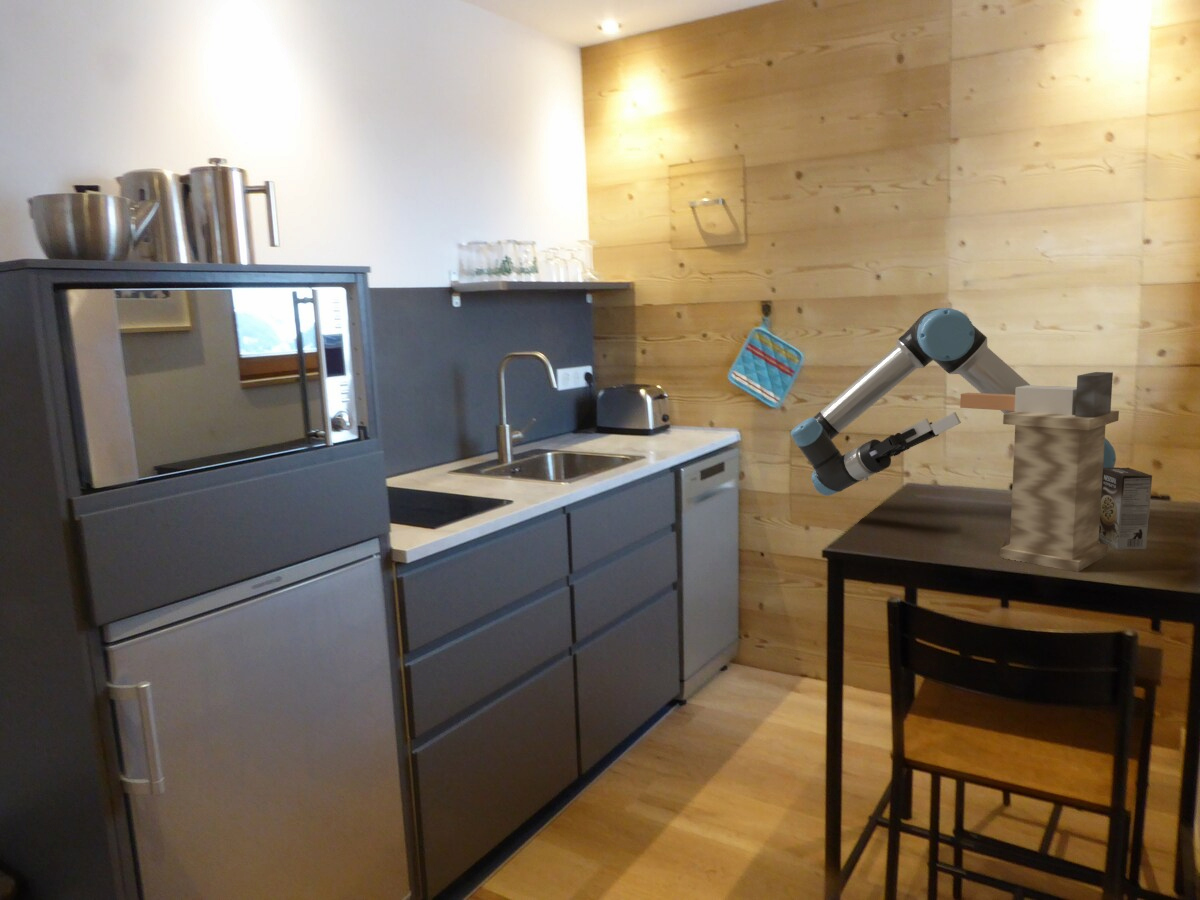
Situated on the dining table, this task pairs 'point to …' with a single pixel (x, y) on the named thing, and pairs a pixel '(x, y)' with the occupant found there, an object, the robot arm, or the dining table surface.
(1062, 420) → the stand
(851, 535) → the dining table surface
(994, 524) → the dining table surface
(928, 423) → the robot arm
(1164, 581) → the dining table surface
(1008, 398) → the plug
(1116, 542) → the coffee box
